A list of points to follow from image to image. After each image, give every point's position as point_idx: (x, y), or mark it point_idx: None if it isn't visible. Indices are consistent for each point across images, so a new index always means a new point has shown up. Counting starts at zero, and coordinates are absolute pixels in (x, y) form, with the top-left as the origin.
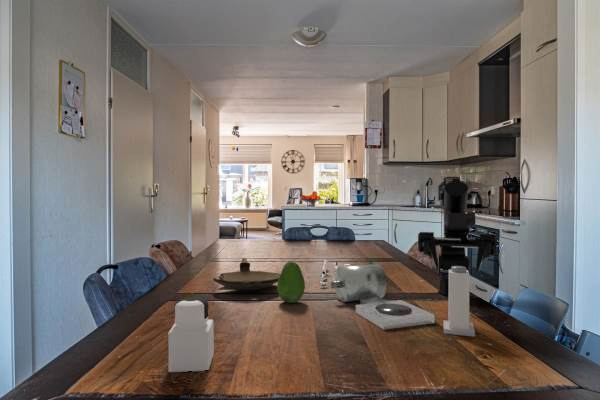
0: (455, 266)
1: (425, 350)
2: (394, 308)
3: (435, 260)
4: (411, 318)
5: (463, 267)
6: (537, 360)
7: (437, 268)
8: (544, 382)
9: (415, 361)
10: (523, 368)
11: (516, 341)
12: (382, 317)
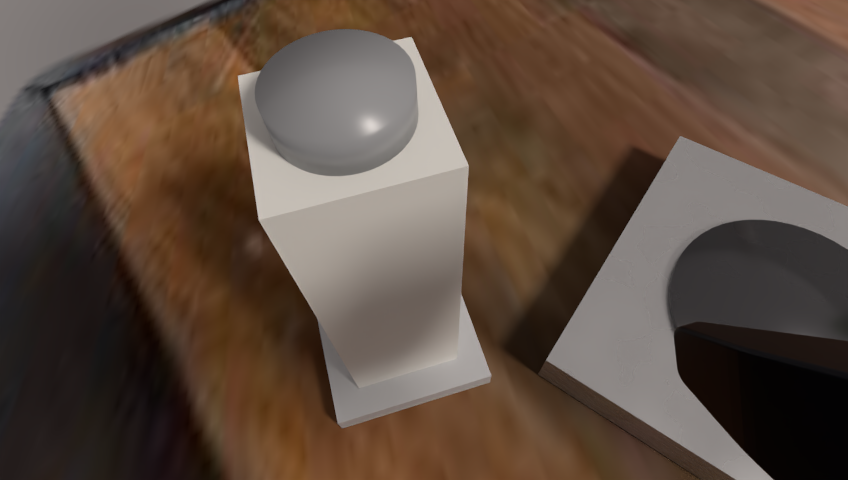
0: (376, 99)
1: (444, 85)
2: (785, 318)
3: (806, 346)
4: (615, 244)
5: (284, 90)
6: (107, 187)
7: (679, 332)
8: (128, 72)
9: (440, 21)
10: (164, 115)
11: (142, 334)
12: (721, 172)
